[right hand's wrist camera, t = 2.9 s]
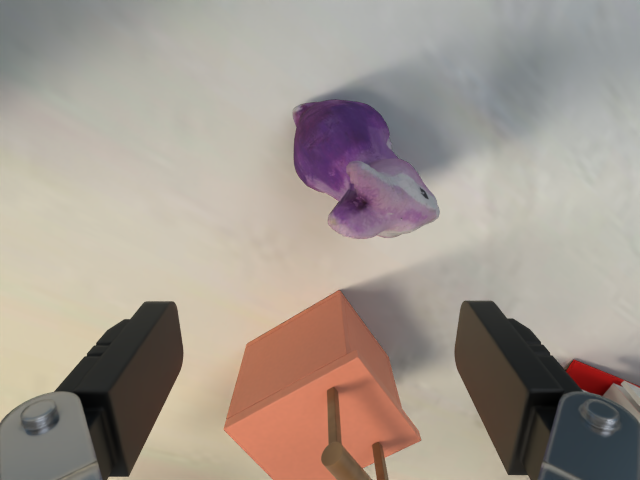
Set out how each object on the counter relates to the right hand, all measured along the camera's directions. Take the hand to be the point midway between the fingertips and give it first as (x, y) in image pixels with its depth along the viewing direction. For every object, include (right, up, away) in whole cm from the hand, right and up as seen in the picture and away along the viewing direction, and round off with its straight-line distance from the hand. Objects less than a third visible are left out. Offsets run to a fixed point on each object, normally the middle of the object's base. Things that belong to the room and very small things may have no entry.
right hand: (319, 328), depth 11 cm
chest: (0, -10, +33) cm, 34 cm away
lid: (0, -13, +23) cm, 26 cm away
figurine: (+3, +11, +25) cm, 27 cm away
